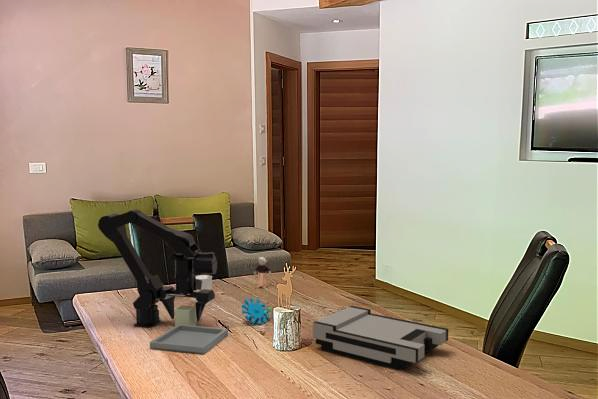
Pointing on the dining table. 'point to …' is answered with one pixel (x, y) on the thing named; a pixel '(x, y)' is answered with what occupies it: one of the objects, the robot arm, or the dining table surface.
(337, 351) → the game console
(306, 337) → the dining table surface
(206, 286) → the drinking glass
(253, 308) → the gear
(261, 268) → the grandmother figurine
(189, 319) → the sage block
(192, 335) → the tray
